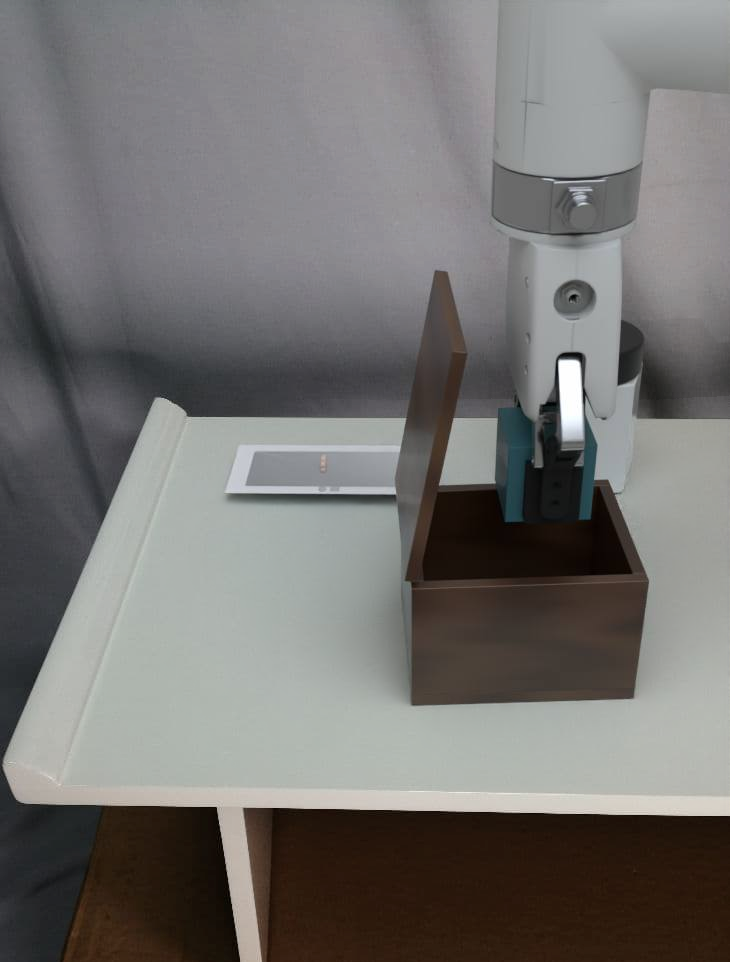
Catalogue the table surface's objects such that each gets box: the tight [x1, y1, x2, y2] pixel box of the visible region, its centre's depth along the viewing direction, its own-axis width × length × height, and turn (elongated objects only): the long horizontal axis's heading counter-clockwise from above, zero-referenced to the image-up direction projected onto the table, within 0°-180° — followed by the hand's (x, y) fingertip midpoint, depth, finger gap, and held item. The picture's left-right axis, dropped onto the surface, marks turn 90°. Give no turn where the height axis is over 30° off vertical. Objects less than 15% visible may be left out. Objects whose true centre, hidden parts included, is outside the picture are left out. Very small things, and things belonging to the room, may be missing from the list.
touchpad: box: [224, 444, 401, 495], centre depth 95 cm, size 8×15×2 cm, turn 85°
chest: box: [400, 479, 650, 706], centre depth 74 cm, size 14×12×9 cm
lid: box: [395, 269, 468, 583], centre depth 68 cm, size 14×12×1 cm
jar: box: [585, 319, 645, 494], centre depth 92 cm, size 9×8×12 cm
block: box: [494, 406, 598, 522], centre depth 69 cm, size 5×5×5 cm
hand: (542, 493), depth 71 cm, fingers closed on block, 5 cm apart
